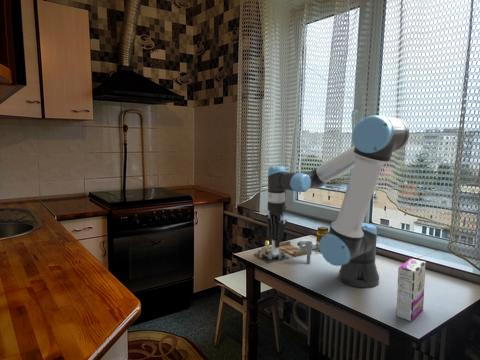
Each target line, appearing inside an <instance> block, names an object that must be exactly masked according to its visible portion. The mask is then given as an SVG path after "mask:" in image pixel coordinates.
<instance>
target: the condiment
mask: <svg viewBox="0 0 480 360" xmlns="http://www.w3.org/2000/svg"><path fill="white" fill-rule="evenodd" d="M329 229H330V228H328V227H325V226H318V227H317V231H316V244H317V242H319V243H320V240H321V238H322V237H323V236H324V235H326V234H328V232H329ZM316 244H315V245H316ZM313 248H314V249H315V248H317V247H313ZM315 252H316V253H317V254H322V253H321V252H320V247H319V250H318V251H315Z"/></svg>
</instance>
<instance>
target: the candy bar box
mask: <svg viewBox="0 0 480 360" xmlns="http://www.w3.org/2000/svg"><path fill="white" fill-rule="evenodd" d="M426 263H427V262H426V261H424V260H421V259H415V258H409V259H408V260H406V261H405V262H403V263H402V264H401V265H400V266H399V267H398V271H397V273H398V274H397V295H396V296H397V297H396V299H397V300H396V317H398V318H400V319H402V320H406V321H409V322H413V321H414V320H415V319H416V317H417V316H418V315H420V313H421V312H422V311H423V310H424V299H425V298H424V297H425V284H426V283H425V282H426V280H425V279H426V265H427V264H426Z"/></svg>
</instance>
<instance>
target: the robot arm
mask: <svg viewBox="0 0 480 360" xmlns="http://www.w3.org/2000/svg"><path fill="white" fill-rule="evenodd" d="M351 135H352V136H351V137H352V142H353V145H354V146H352V147H350V148H348V149H347V150H345V151H343V152H342V153H340V154H338V155H336V156H334V157H333V158H331V159H329V160H327V161H326V162H323V163H322V164H321V165H318V166H317V167H315V168H314V169H312V170H309V171H299V172H292V171H290V172H289V171H287V169H286V167H285V166H282V165H275V166H274V165H272V166H269V167H268V169H267V170H268V171H267V210H268V214H265V219H266V225H267V232H268V237H270V239H271V247H272V254H273V255H275V254H279V243H280V241H282V240H283V239H284V235H285V229H286V224H287V223H288V219H284V211H285V209H286V203H285V201H286V191H290V192H291V191H292V192H296V193H305V192H307V191H308V190H309V189H310V190H311V189H319V188H322V187H324V186H325V185H326V184H327V183H328V182H330V181H332V180H333V179H335V178H337V177H339V176H341V175H344V174H346V173H348V172H350V171H351V174H350V177H349V180H348V184H347V187H346V191H345V193H344V197H343V199H342V201H341V202H342V203H341V206H340V208H339V209H340V210H339V212H338V216H337V218H336V220H335V221H332V222H331V223H330V226H329V228H328V229H329V230H328V234H326V235H324V236H323V237H322V238H321V240H320V244H319V247H320V252H321V253H320V254H321V255H322V257H323V259H324V260H325V261H326V262H327V263H329V264H330V265H333V266H334V267H335V266H336V267H340V269H339V271H338V279H339V280H340V282H342V283H344V284H346V285H349V286H351V287H356V288H357V287H358V288H366V289H367V288H373V287H377V286H378V285H379V284H380V275H379V273H378V269H377V265H376V254H377V241H378V240H377V237H378V233H377V232H378V231H377V230H378V229H377V226H375V225H374V224H371V223H366V222H364V220H365V218H366V215H367V212H368V209H369V206H370V203H371V201H372V197H373V194H374V192H375V189H376V186H377V183H378V180H379V177H380V174H381V171H382V169H383V166H384V165H385V164H387V163H390V160H391V157H392V155H393V153H394V152H396V151H399V150H400V149H402V148H403V147H404V146H405V145H406V144H407V142H408V141H409V138H410V129H409V125H408V124H407V123H406V122H405V121H404V120H403V119H401V118H398V117H396V116H387V115H386V116H385V115H380V114H375V115H369V116H366V117H364V118H362V119H360V120H359V122H357V123H356V125H355V126H354V128H353V130H352V134H351Z"/></svg>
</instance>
